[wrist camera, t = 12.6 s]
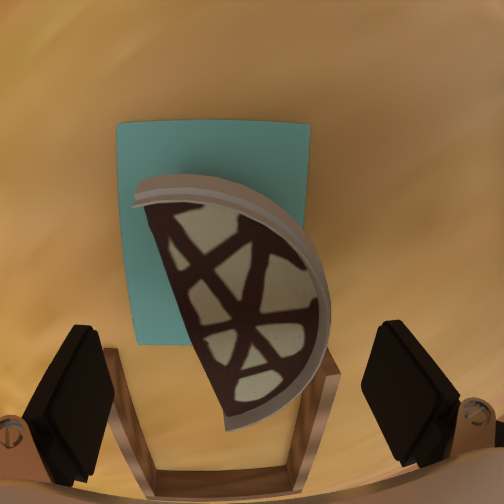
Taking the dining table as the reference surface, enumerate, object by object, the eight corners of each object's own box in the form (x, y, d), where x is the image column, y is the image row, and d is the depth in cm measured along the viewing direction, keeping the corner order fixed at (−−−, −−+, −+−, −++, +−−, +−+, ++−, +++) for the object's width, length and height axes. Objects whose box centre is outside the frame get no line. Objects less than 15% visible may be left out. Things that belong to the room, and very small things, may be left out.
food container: (300, 307, 23) (348, 406, 14) (219, 328, 23) (228, 438, 14) (265, 136, 19) (320, 140, 9) (167, 161, 18) (126, 190, 9)
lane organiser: (104, 348, 23) (91, 380, 19) (325, 343, 26) (341, 373, 22) (148, 473, 31) (147, 499, 27) (294, 468, 33) (301, 492, 29)
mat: (119, 123, 18) (116, 123, 17) (307, 124, 19) (310, 124, 19) (138, 340, 23) (137, 344, 23) (289, 336, 25) (291, 341, 24)
